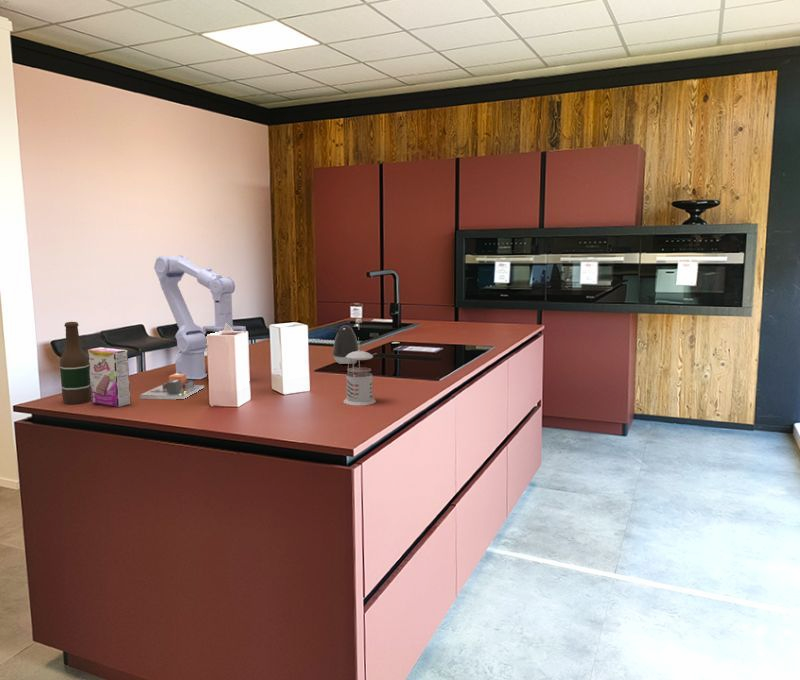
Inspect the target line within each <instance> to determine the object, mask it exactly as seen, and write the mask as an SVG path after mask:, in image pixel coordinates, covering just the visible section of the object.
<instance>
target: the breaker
mask: <svg viewBox="0 0 800 680" xmlns="http://www.w3.org/2000/svg"><path fill="white" fill-rule="evenodd" d="M165 383H166V384H167V393H177V392H179V391H181V380H171V381H169V380H168V381H166V382H165Z"/></svg>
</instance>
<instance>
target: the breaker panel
mask: <svg viewBox="0 0 800 680" xmlns="http://www.w3.org/2000/svg"><path fill="white" fill-rule="evenodd" d="M203 388H204V389H205V385H202V384H195V380H187V383H186V384H184V385H183V388H182V389H181V391H179V392H177V393H167V384H166V382H165V383H162V384H161V385H158V386H156V387H154V388H152V389H149V390H148V391H146V392H143V393H140V394H139V399H143V400H145V399H146V400H176V399H184V400H186V399H188V398H190V397H191V396H190V395H192V394H194V393H196V392H197V393H199V392H200V391H199V390H201V389H203ZM204 389H203V390H204ZM198 391H199V392H198ZM201 391H202V390H201ZM197 393H196V394H197ZM194 395H195V394H194ZM189 396H190V397H189ZM192 396H193V395H192ZM187 397H188V398H187ZM185 398H186V399H185Z"/></svg>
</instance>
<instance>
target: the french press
mask: <svg viewBox="0 0 800 680" xmlns="http://www.w3.org/2000/svg"><path fill="white" fill-rule="evenodd" d="M355 323H357V324H358V326H357V327H358V328H357V329H360V323H361V324H362V323H363V320H362V319H361V318H356V319H355ZM360 346H361V345H360V344H358V348H359V350H358V351H355V352H351V353H349V354H348V355H347V356H346V358H347V359H350V360H351V363H352V360H354V362H355V360H356V362H355V363H354V362H353V363H352V364H351V365H352V367H350V365H349V363H348V365H347V370H346V371H347V374H346V398H345V399H344V400H343V403H344V404H345V403H346V405H348V404H349V405H350V406H367V405H373V404H375V403H376V402H377V401H376V399H375V398H374V395H373V394H374V393H373V392H374V391H373V389H374V388H373V384H374V383H373V380H374V379H373V373H371V371H372V369H371V368H370V367H361V363H360V362H361V361H366V360H371V359H373V357H374V356H373V355H372V354H371V353H369V352H367V351H363V350H360ZM350 360H349V362H350ZM357 363H358V367H356V366H355V364H357ZM349 367H350V368H349Z"/></svg>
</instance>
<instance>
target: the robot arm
mask: <svg viewBox="0 0 800 680" xmlns="http://www.w3.org/2000/svg"><path fill="white" fill-rule="evenodd" d="M153 269H154V271H155V274H156V276H157V278H158V280H159V284H160V288H161V290H162V292H163V295H164V297H165V299H166V302H167V303H168V306H169V308H170V311H171V313H172V315H173V318H174V320H175V323H176V325H177V327H178V330H177V332H176V333H175V336H174V337H175V339H176V343H177V349H178V351H180V352H178V353H177V354H176V355H175V374H176V373H180V374H186V380H203V379H204V378H207V377H208V376H207V374H208V373H206V364H205V363H206V360H205V359H206V358H205V352H206V351H207V348H208V347H207V345H206V336H207V334H210V333H215V332H217V333H220V332H219V331H222V330H223V329H224V326H225V323H227V324H228V325H229V326H230V327H231V328H232V329H233V330H234V331H244V333H246V332H247V328H246V326H245V325H244V326H243V325H233V324H234V323H233V321H234V320H233V300H232V297H233V295H232V294H234V292H235V290H236V285H235V281H234V279H232V277H230V276H226V277H223V276H222V274H221V273H216V272H214V271H213V269H212V268H210V267H206V268H203V269H202V268H201V267H199V266H197V265H196V264H194V263H193V262H192V261H190V260H189V259H188V257H185V256H183V255H170V256H169V255H168V256H167V255H166V256H164V255H159V256H157V257H156V259H155V263H154V266H153ZM185 274H188V275H190V276H191V277H193V278H195V279H196V280H197V283H198V284H200V285H202V286H203V287H205V288H207V289H209V291H210V293H211V295H212V299H213V301H214V302H213V303H214V306H213V307H214V323H215V325H203V326H202V327H201V326H199V325H197V324H196V323H195V321H194V319H193V317H192V315H191V313H190V311H189V308H188V306H187V304H186V301H185V299H184V297H183V294H182V291H181V289H180V287H179V284H178V283H179V282H181V280H182V279H183V277H184V275H185Z"/></svg>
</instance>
